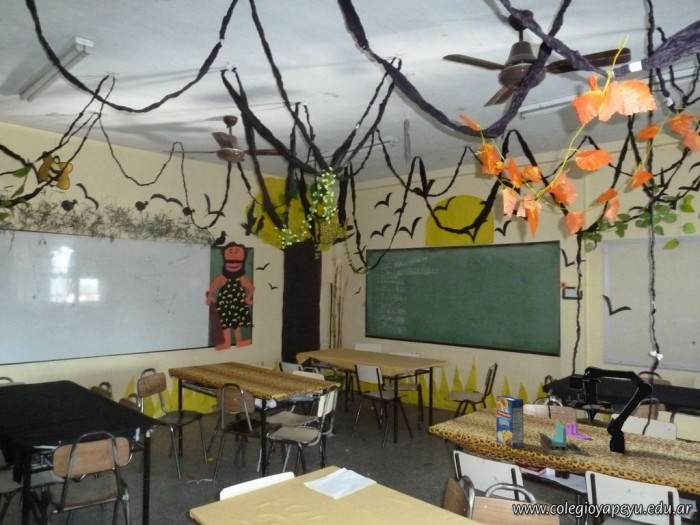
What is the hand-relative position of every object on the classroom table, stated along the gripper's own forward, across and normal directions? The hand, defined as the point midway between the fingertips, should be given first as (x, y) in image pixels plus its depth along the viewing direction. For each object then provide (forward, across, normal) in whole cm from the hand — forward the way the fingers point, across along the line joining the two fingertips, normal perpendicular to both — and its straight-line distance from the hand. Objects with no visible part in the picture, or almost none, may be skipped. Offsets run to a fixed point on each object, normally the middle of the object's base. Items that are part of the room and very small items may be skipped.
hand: (591, 421), depth 264 cm
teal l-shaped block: (+10, +20, +5) cm, 23 cm away
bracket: (+13, -1, -19) cm, 23 cm away
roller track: (+13, +18, +5) cm, 22 cm away
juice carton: (+13, +42, 0) cm, 44 cm away
